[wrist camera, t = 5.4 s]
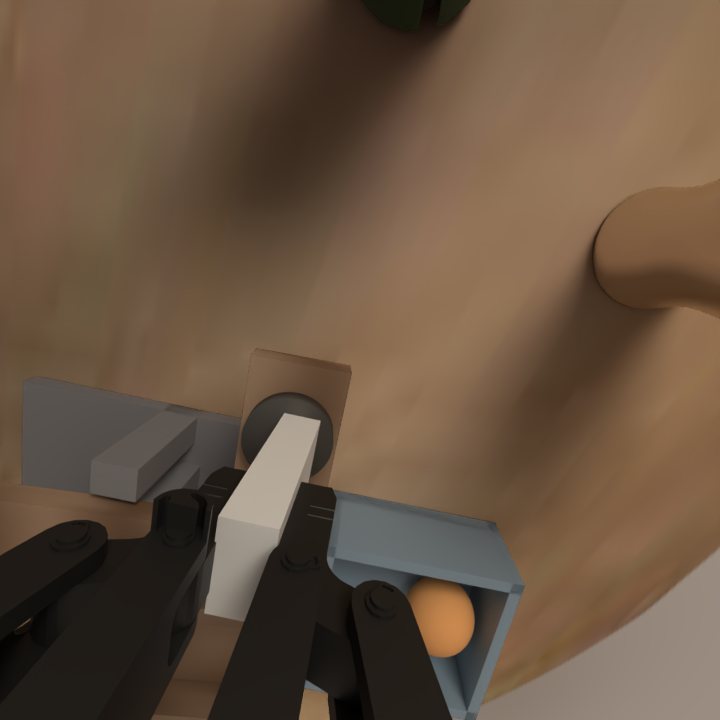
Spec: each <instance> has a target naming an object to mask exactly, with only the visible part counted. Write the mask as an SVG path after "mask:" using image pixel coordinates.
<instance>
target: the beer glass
mask: <svg viewBox="0 0 720 720" xmlns="http://www.w3.org/2000/svg"><path fill="white" fill-rule="evenodd" d="M593 264H594V270H595V274H596V277H597V279H598V281H599V283H600V285H601V287H602V288H603V289H604V291H605V292H606V293H607V294H608V295H609V296H610V297H612V298H613V299H614V300H616V301H617V302H619V303H621V304H623V305H626V306H628V307H632V308H638V309H661V308H670V307H686V308H691V309H695V310H698V311H701V312H703V313H706V314H709V315H711V316H714V317H716V318H719V319H720V179H718V180H716V181H713V182H710V183H707V184H704V185H699V186H694V187H656V188H651V189H647V190H644V191H641V192H639V193H637V194H635V195H633V196H631V197H629V198H628V199H626V200H625V201H623V202H622V203H621V204H619V205H618V206H617V207H616V208H615V209H614V210H613V211H612V212H611V213H610V215H609V216H608V217H607V218H606V220H605V221H604V223H603V225H602V226H601V228H600V230H599V233H598V235H597V238H596V241H595V245H594V252H593Z"/></svg>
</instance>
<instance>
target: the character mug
mask: <svg viewBox="0 0 720 720" xmlns="http://www.w3.org/2000/svg"><path fill="white" fill-rule="evenodd" d="M362 1H363V2H364V3H365V4H366V5H367V6H368V7H369V8H370V10H371V11H372V12H373V13H374V14H375V15H376V16H377V17H378V18H379V19H380V20H381V21H382V22H383V23H386V24H389V25H392V26H395V27H398V28H401V29H404V30H407V31H410V32H412V31H415V30H418V28H419V23H420V18H421V13H422V8H426V9H430V8H432V7H433V6H435V5H437V4H438V3H440V2H441V7H440V13H439V19H438V25H442V24H445V23H447V22H448V21H449V20H450V19H451V18H452V17H453V16H455V15H456V14H457V13H458V12H459V11H460V10H461V9H463V8H464V7H465V6H466V5H467V4H468V3H469V2H470V0H362Z"/></svg>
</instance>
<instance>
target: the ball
mask: <svg viewBox="0 0 720 720" xmlns="http://www.w3.org/2000/svg"><path fill="white" fill-rule="evenodd" d="M406 598H407V599H408V601H409V603H410V604H411V607H412V610H413V613H414V615H415V618H416V621H417V624H418V626H419V629H420V632H421V635H422V637H423V640H424V643H425V646H426V648H427V651H428V654H429V655H432V656H435V657H450V656H453V655H456V654H458V653H459V652H461V651H462V650H463V649H464V648H465V647H466V646H467V644H468V643H469V641H470V639H471V637H472V634H473V631H474V625H475V616H474V610H473V606H472V603H471V601H470V598H469V597H468V595H467V593H466V592H465V590H464V589H463V588H462V587H461V586H460V585H459V584H458V583H457V582H452V581H448V580H443V579H438V578H433V577H428V576H426V577H423V578H421V579H420V580H418V581H417V582H416V583H415V584H414V585H413V586H412V587H411V588H410V590H409V592H408V593H407V596H406Z"/></svg>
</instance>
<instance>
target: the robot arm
mask: <svg viewBox="0 0 720 720" xmlns="http://www.w3.org/2000/svg"><path fill="white" fill-rule="evenodd" d="M320 422H321V421H319V420H315V419H310V418H305V417H301V416H296V415H291V414H287V413H284V415H283V416H282V418H281V419H280V421H279V422H278V424H277V425H276V427H275V429H274V430H273V432H272V433H271V435H270V436H269V438H268V439H267V441H266V443H265V444H264V446H263V447H262V449H261V450H260V452H259V453H258V455H257V457H256V458H255V460H254V461H253V463H252V464H251V466H250V467H249V469H248V471H244V470H239V469H235V468H230V467H226V466H224V467H222V468H220V469H218V470H217V471H215V472H213V473H211V474H210V476H209V477H208V478H207V479H206V480H205V482H204V484H203V485H201V487H200V488H199V489H198V490H196V489H186V488H182V489H174V490H170V491H167V492H164V493H161V494H160V495H159V496H157V497H156V498H154V500H153V510H152V520H151V530H150V532H149V533H148V534H147V535H146V536H145V537H142V538H134V539H108V533H107V530H106V527H104V526H103V525H102V524H100V523H99V522H95V521H91V520H73V521H68V522H63V523H60V524H57V525H55V526H53V527H50V528H48V529H46V530H44V531H43V532H41V533H39V534H37V535H35V536H34V537H32V538H30V539H28V540H27V541H25V542H23V543H21V544H19V545H18V546H16V547H14V548H12V549H10V550H9V551H7V552H5V553H3V554H2V555H0V720H151V718H152V717H153V715H154V713H155V711H156V709H157V707H158V705H159V703H160V701H161V699H162V697H163V695H164V693H165V691H166V689H167V687H168V685H169V683H170V681H171V679H172V677H173V675H174V673H175V671H176V669H177V667H178V665H179V663H180V661H181V659H182V657H183V655H184V653H185V651H186V649H187V647H188V645H189V643H190V641H191V639H192V637H193V635H194V632H195V629H196V625H197V618H198V612H199V611H200V609H201V607H202V605H203V603H204V601H205V599H206V604H205V611H204V613H205V614H210V615H215V616H219V617H224V618H229V619H233V620H238V621H243V622H244V623H243V626H242V629H241V631H240V634H239V637H238V639H237V642H236V645H235V647H234V650H233V653H232V655H231V658H230V660H229V663H228V666H227V668H226V671H225V674H224V676H223V679H222V682H221V684H220V687H219V690H218V692H217V695H216V698H215V700H214V703H213V705H212V708H211V711H210V713H209V716H208V719H207V720H299V714H300V709H301V703H302V697H303V692H304V686H305V680H307V681H309V682H310V683H312V684H314V685H315V686H317V687H318V688H320V689H322V690H323V691H325V692H326V693H328V706H329V715H330V720H452V717H451V714H450V712H449V709H448V706H447V703H446V701H445V698H444V695H443V692H442V690H441V687H440V684H439V681H438V679H437V676H436V673H435V670H434V668H433V665H432V662H431V659H430V657H429V654H428V651H427V648H426V646H425V643H424V640H423V637H422V635H421V632H420V629H419V626H418V624H417V621H416V618H415V615H414V613H413V610H412V607H411V604H410V603H409V601H408V599H407V598H406V596H405V594H403V593H402V592H401V591H400V590H399V589H398V588H397V587H395V586H393V585H391V584H389V583H387V582H384V581H379V580H370V581H364V582H362V583H361V584H359V585H358V586H356V588H354V587H352V586H350V585H349V584H347V583H345V582H343V581H342V580H340V579H339V578H338V577H337V576H336V575H335V574H334V573H333V572H332V571H331V569H330V567H329V565H328V562H327V552H328V546H329V541H330V535H331V529H332V524H333V518H334V513H335V507H336V502H337V498H336V495H335V493H334V491H333V489H332V488H329V487H324V486H320V485H315V484H310V483H308V482H309V477H310V472H311V467H312V462H313V457H314V452H315V447H316V442H317V437H318V432H319V427H320ZM29 619H30V621H28V622H27V623H26V624H24V625H23V626H21V625H22V624H23V623H25V622H26V621H27V620H29ZM19 626H21V627H19ZM18 627H19V628H18Z"/></svg>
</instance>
